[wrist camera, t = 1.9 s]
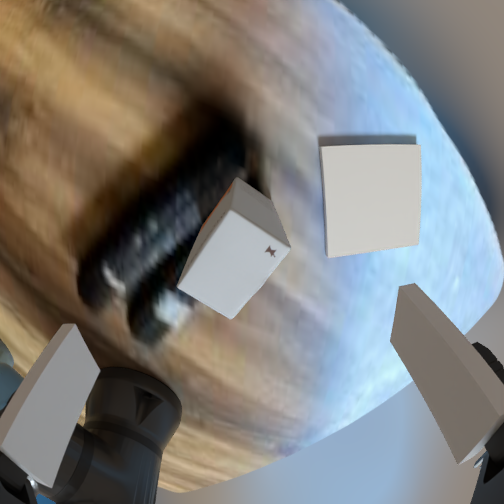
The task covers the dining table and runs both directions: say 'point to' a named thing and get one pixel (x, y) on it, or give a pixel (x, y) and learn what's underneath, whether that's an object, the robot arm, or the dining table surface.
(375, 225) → the coaster
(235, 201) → the skincare box
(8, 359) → the grey cup
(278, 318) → the dining table surface
